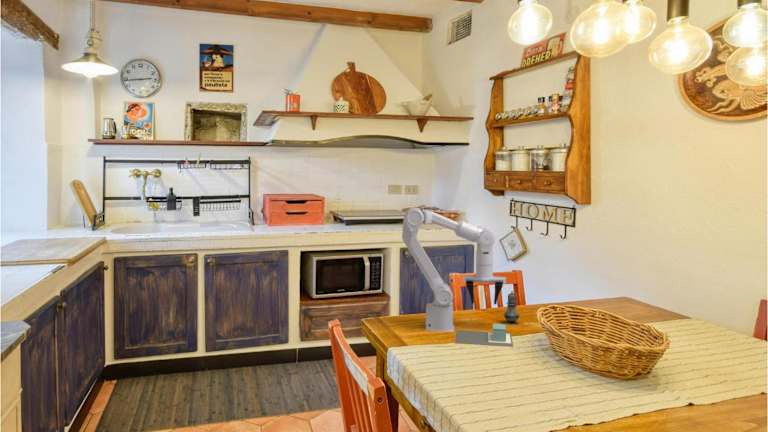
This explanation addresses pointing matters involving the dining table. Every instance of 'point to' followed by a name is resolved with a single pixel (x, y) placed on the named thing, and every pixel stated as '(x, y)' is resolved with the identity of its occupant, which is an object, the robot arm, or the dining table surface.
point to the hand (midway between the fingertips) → (483, 303)
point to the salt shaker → (511, 310)
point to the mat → (481, 338)
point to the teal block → (499, 332)
